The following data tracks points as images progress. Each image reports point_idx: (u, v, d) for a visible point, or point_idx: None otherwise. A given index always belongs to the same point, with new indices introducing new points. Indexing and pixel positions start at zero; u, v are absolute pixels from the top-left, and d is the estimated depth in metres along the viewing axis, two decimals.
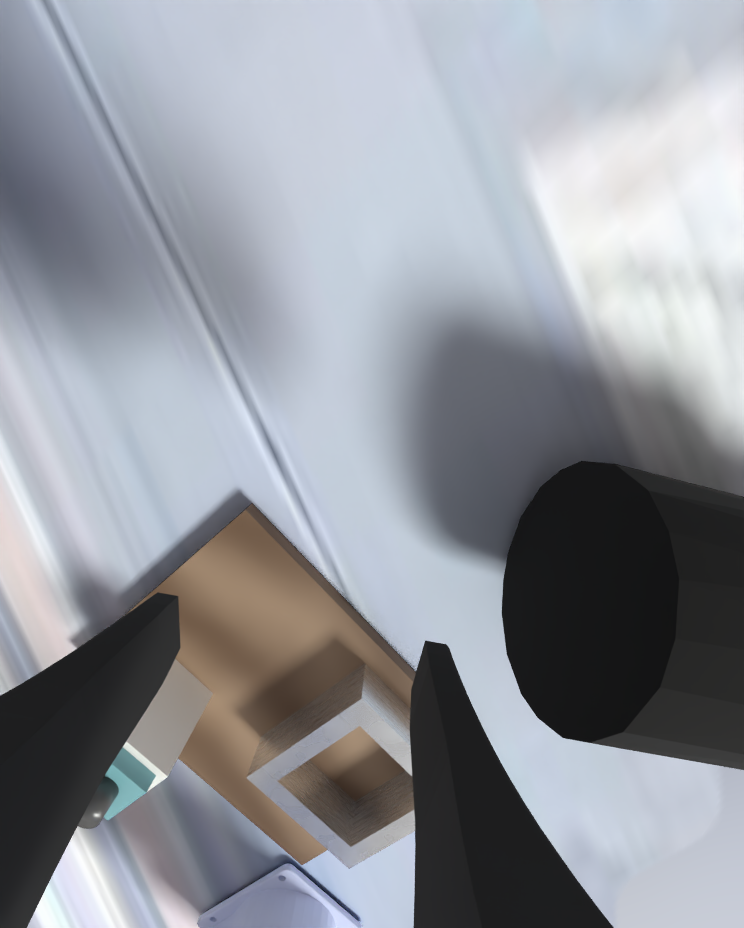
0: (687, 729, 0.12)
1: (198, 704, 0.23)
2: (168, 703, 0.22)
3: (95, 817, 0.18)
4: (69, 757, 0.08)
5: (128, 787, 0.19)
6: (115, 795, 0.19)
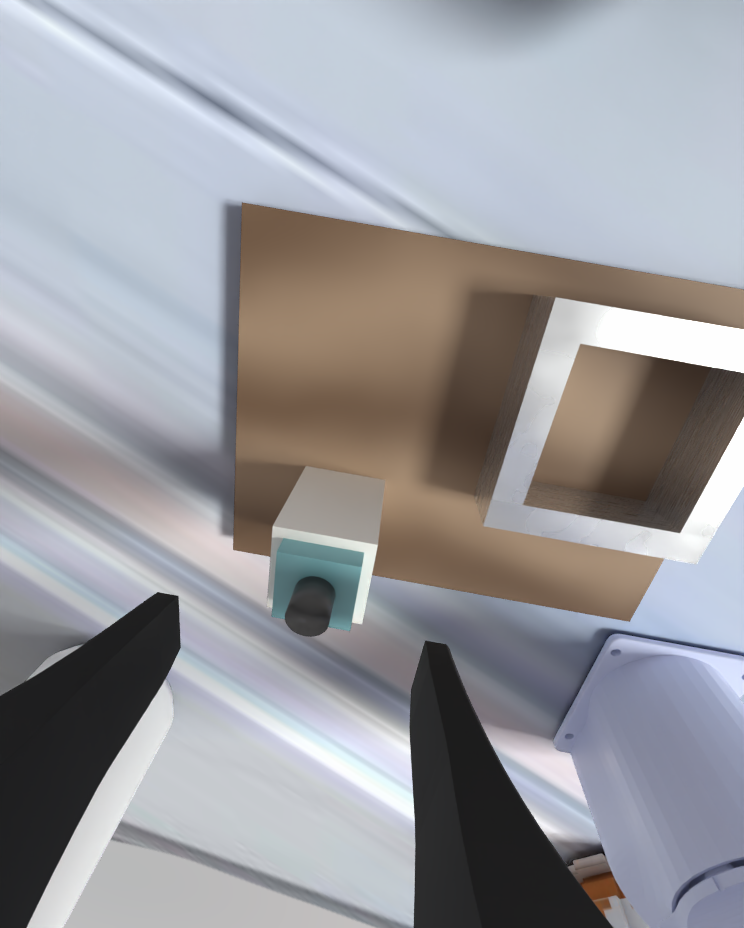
0: None
1: (373, 490, 0.17)
2: (333, 496, 0.16)
3: (318, 612, 0.13)
4: (69, 757, 0.08)
5: (338, 574, 0.14)
6: (330, 589, 0.14)
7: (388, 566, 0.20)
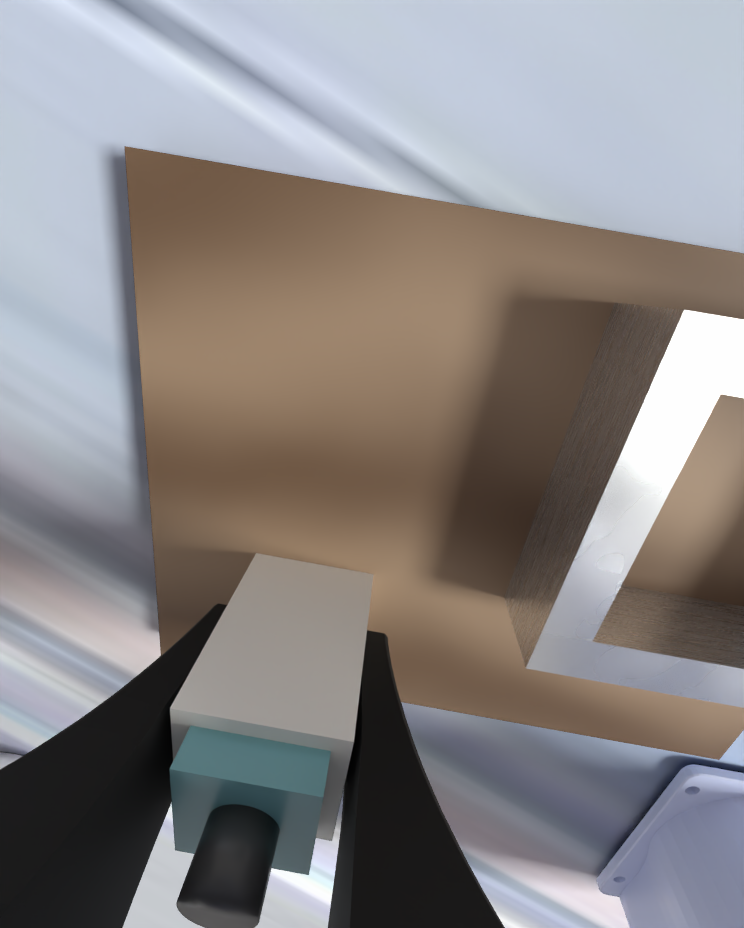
0: None
1: (354, 598, 0.11)
2: (290, 619, 0.10)
3: (237, 906, 0.07)
4: (154, 773, 0.08)
5: (282, 805, 0.08)
6: (267, 832, 0.08)
7: None
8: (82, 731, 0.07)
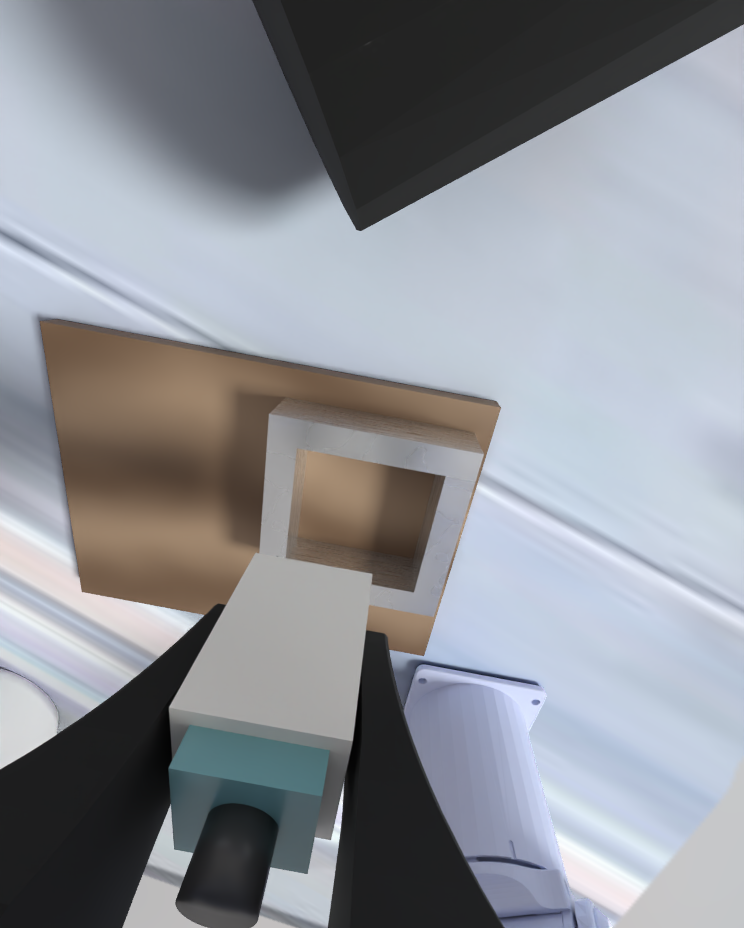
0: None
1: (353, 598, 0.11)
2: (289, 618, 0.10)
3: (236, 904, 0.07)
4: (154, 773, 0.08)
5: (281, 804, 0.08)
6: (267, 831, 0.08)
7: None
8: (82, 731, 0.07)
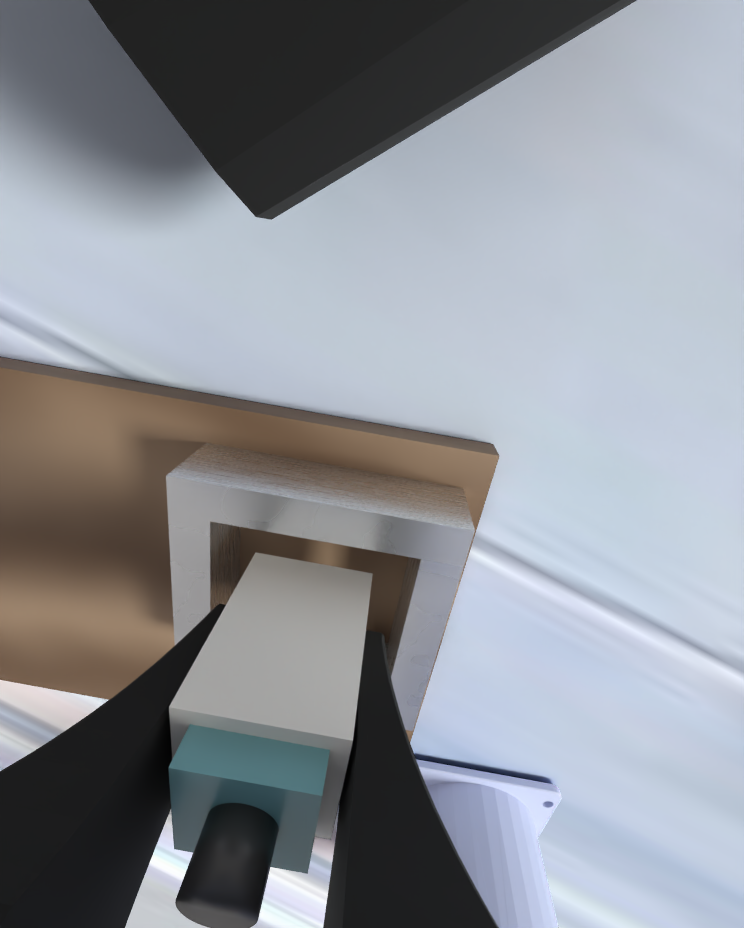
0: None
1: (353, 597, 0.11)
2: (289, 618, 0.10)
3: (236, 903, 0.07)
4: (156, 773, 0.08)
5: (281, 803, 0.08)
6: (266, 831, 0.08)
7: None
8: (84, 732, 0.07)
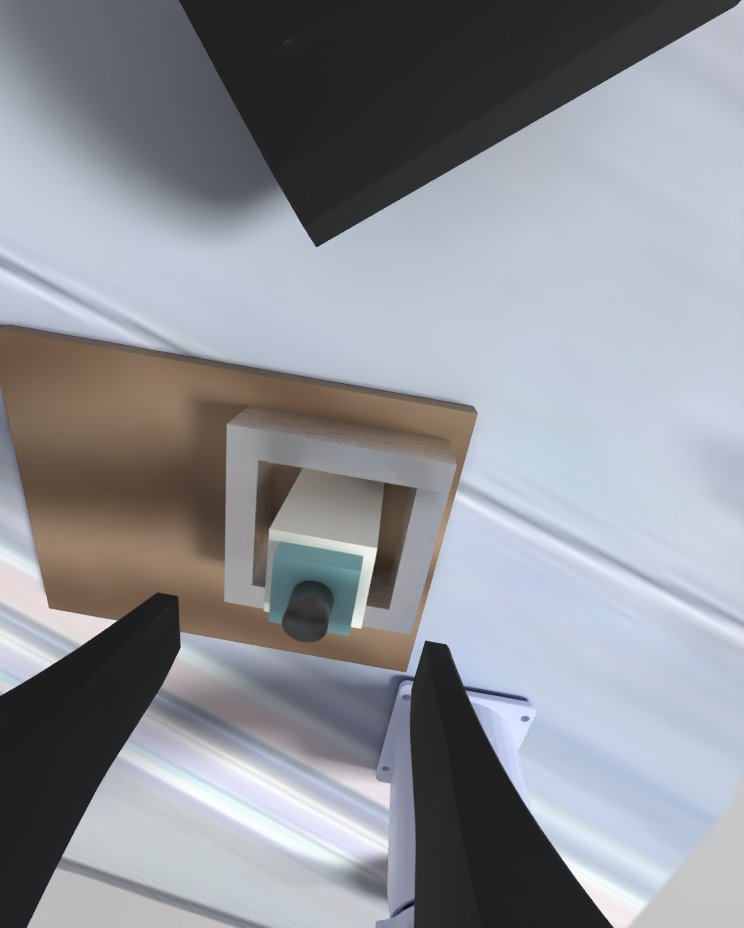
0: None
1: (372, 491, 0.17)
2: (332, 498, 0.16)
3: (316, 618, 0.12)
4: (69, 757, 0.08)
5: (337, 579, 0.13)
6: (328, 594, 0.13)
7: (187, 623, 0.23)
8: None
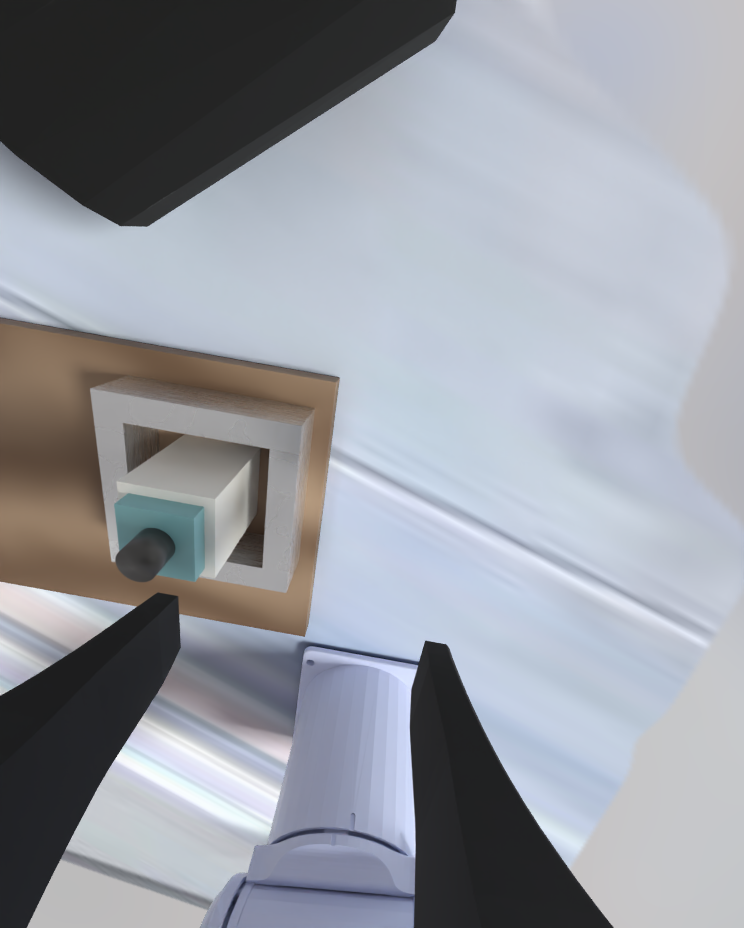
0: None
1: (241, 455, 0.18)
2: (196, 459, 0.17)
3: (144, 558, 0.14)
4: (69, 757, 0.08)
5: (174, 525, 0.14)
6: (166, 539, 0.14)
7: (95, 589, 0.24)
8: None
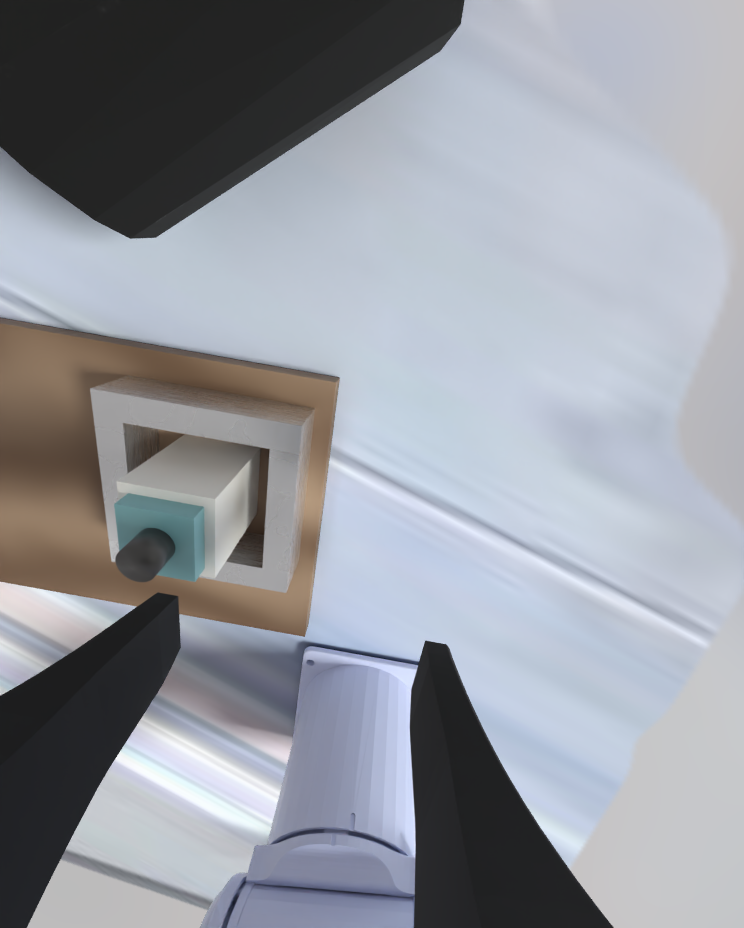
0: None
1: (241, 455, 0.18)
2: (196, 459, 0.17)
3: (144, 558, 0.14)
4: (69, 757, 0.08)
5: (174, 525, 0.14)
6: (166, 539, 0.14)
7: (95, 589, 0.24)
8: None
